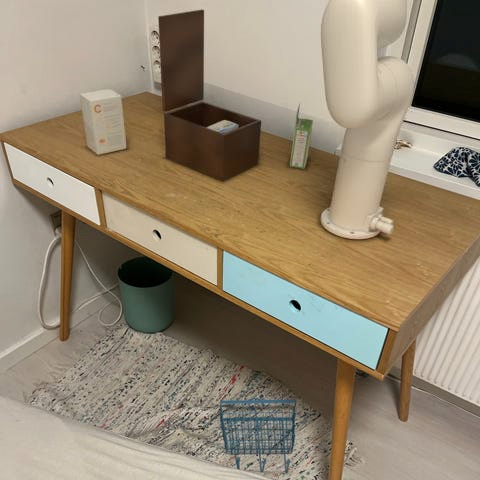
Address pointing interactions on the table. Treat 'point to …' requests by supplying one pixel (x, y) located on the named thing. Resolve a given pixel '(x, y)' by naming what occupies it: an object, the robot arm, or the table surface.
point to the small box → (103, 121)
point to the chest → (211, 140)
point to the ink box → (301, 142)
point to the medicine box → (224, 126)
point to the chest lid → (181, 58)
